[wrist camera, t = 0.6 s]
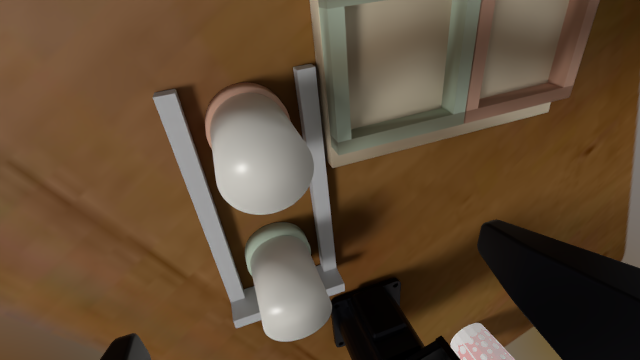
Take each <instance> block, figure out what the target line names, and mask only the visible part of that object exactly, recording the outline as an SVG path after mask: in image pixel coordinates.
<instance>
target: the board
mask: <svg viewBox="0 0 640 360" xmlns="http://www.w3.org/2000/svg"><path fill="white" fill-rule="evenodd" d="M599 1H600V0H310V8H311V18H312V28H313V37H314V47H315V57H316V66H317V76H318V86H319V96H320V105H321V115H322V125H323V134H324V144H325V154H326V160H327V161H328V163H329V164H330V165H331V167H332V168H335V167H339V166H343V165H347V164H350V163H354V162H358V161H362V160H366V159H370V158H373V157H377V156H381V155H385V154H389V153H393V152H396V151H400V150H404V149H408V148H412V147H416V146H420V145H423V144H427V143H431V142H435V141H439V140H443V139H446V138H450V137H454V136H458V135H462V134H466V133H470V132H473V131H477V130H481V129H485V128H489V127H493V126H496V125H500V124H504V123H508V122H512V121H516V120H519V119H523V118H527V117H531V116H535V115H539V114H543V113H546V112H548V111H549V108H550V104H551V102H553V101H557V100H561V99H565V98H568V97H570V94H571V91H572V87H573V84H574V81H575V78H576V75H577V72H578V68H579V65H580V62H581V59H582V56H583V52H584V49H585V46H586V43H587V40H588V36H589V33H590V30H591V27H592V24H593V21H594V17H595V14H596V11H597V8H598V5H599Z"/></svg>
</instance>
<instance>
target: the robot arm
mask: <svg viewBox="0 0 640 360" xmlns="http://www.w3.org/2000/svg"><path fill="white" fill-rule="evenodd" d="M477 247H478V251H479V253H480V255H481V256H482V257H483V259H484V260H485V262H486V263H487V265H488V266H489V268H490V269H491V270H492V272H493V273H494V275H495V276H496V278H497V279H498V280H499V282H500V283H501V285H502V286H503V288H504V289H505V291H506V292H507V293H508V295H509V296H510V297H511V299H512V300H513V301H514V303H515V304H516V305H517V306H518V308H519V309H520V310H521V311H522V312H523V313H524V315H525V316H526V317H527V318H528V319H529V321H530V322H531V323H532V324H533V325H534V327H536V329H537V330H538V331H539V332H540V334H541V335H542V336H543V337H544V338H545V340H546V341H547V342H548V343H549V344H550V346H551V347H552V348H553V349H554V350H555V351H556V353H557V354H558V355H559V356H560V357H561V359H562V360H640V268H637V267H635V266H632V265H629V264H626V263H623V262H620V261H617V260H614V259H611V258H608V257H605V256H603V255H600V254H597V253H594V252H591V251H588V250H585V249H582V248H579V247H576V246H573V245H570V244H568V243H565V242H562V241H559V240H556V239H553V238H550V237H547V236H544V235H541V234H538V233H536V232H533V231H530V230H527V229H524V228H521V227H518V226H515V225H512V224H509V223H506V222H503V221H501V220H492V221H489V222H486V223H484V224H483V225H482V226H481V230H480V235H479V239H478V244H477ZM400 288H401V283H400V281H399V280H398V279H397V278H393V279H390V280H387V281H384V282H381V283H378V284H376V285H373V286H370V287H367V288H364V289H361V290H359V291H356V292H353V293H350V294H347V295H344V296H341V297H339V298H336V299H333V300H332V301H331V303H332V312H331V318H332V325H333V333H334V341H335V344H336V346H337V347H342V346H345V345H346V347H347V350H348V352H349V354H350V357H351V359H352V360H461V359H460V358H459V357H458V356H457V354H456V353H455V352H454V351H453V349H452V348H451V347H450V346H449V344H448V343H447V342H446V341H445V339H444V338H443V337H442V336H440V337H438V338H436V341H434V342H432V343H430V344H429V345H427V346H424V344H423V343H422V341H421V340H420V338H419V337H418V335H417V333H416V332H415V330H414V329H413V327H412V326H411V324H410V322H409V321H408V319H407V318H406V316H405V315H404V313H403V311H402V310H401V308H400ZM100 360H151V358H150V354H149V352H148V351H147V349H146V348H145V346H144V344H143V343H142V341H141V339H140V338H139V336H138V335H137V334H135V333H132V334H129V335H125V336H122V337H119V338H117V339H115V340H114V341H113V342H112V343H111V344H110V346H109V347H108V349H107V350H106V352H105V353H104V355H103V356H102V357H101V359H100Z"/></svg>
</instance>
